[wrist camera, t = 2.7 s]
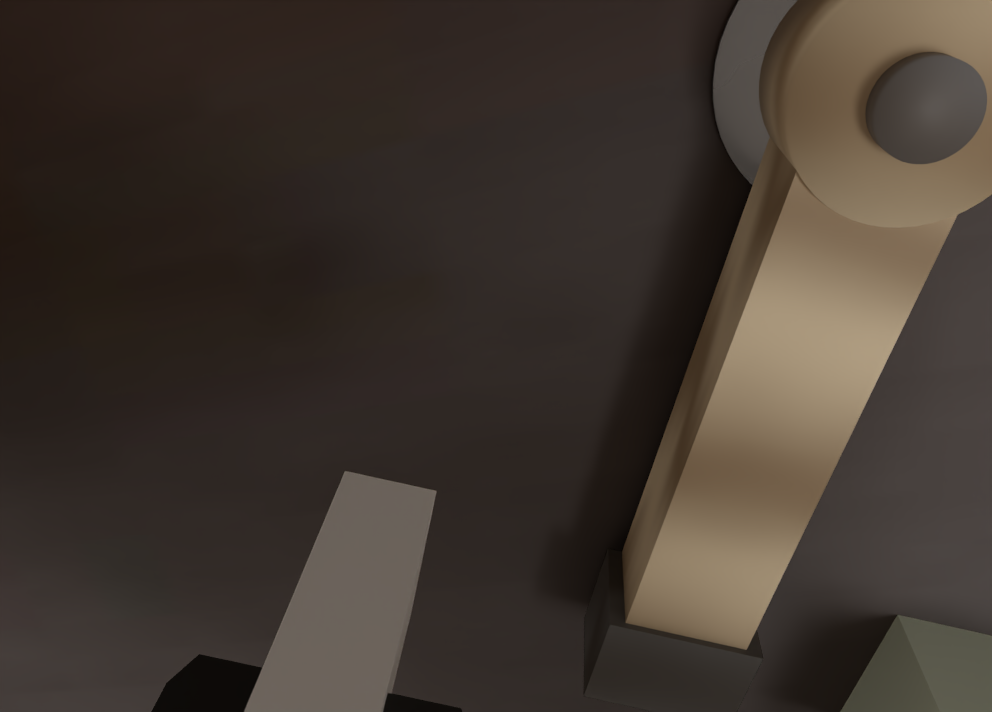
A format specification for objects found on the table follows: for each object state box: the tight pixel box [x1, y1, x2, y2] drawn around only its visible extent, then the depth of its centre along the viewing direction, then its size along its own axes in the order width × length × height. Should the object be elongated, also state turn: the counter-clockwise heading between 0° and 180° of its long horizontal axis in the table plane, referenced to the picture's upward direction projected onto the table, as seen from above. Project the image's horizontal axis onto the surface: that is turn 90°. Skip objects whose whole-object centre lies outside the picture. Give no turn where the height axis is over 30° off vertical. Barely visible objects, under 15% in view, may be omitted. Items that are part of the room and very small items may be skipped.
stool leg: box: [584, 0, 992, 712], centre depth 21 cm, size 20×5×4 cm, turn 169°
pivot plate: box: [712, 0, 797, 185], centre depth 20 cm, size 7×7×1 cm
